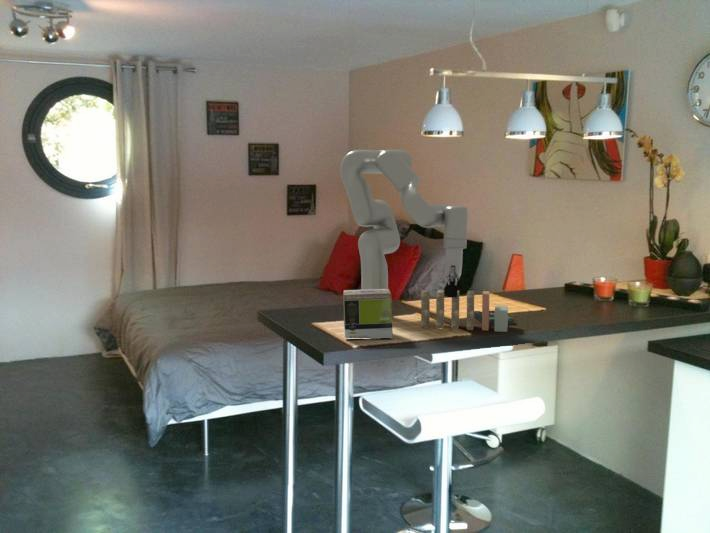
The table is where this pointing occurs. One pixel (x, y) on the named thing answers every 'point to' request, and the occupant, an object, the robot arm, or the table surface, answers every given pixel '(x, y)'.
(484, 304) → the domino
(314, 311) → the table surface
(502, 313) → the block
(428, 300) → the domino
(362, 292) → the tea box
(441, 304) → the domino
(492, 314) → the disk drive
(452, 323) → the domino
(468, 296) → the domino
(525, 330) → the table surface
